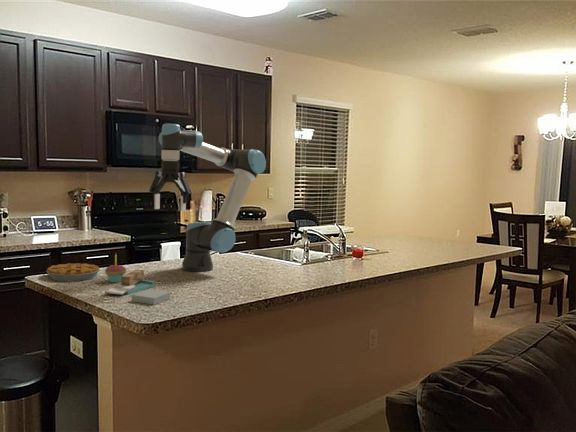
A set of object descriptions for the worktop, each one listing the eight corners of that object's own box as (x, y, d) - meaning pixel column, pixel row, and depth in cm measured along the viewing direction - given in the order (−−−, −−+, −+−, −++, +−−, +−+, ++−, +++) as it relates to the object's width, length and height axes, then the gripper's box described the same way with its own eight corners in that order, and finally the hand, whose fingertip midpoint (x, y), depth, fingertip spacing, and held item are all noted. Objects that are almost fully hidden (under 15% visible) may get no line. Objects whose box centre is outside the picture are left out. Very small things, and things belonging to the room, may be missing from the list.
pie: (95, 270, 247) (95, 260, 246) (103, 280, 228) (103, 269, 227) (44, 273, 236) (44, 262, 236) (47, 283, 217) (47, 271, 217)
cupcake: (104, 279, 229) (105, 252, 228) (125, 278, 232) (125, 251, 231) (105, 283, 221) (105, 255, 220) (126, 283, 224) (127, 255, 223)
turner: (132, 278, 223) (131, 269, 222) (147, 279, 222) (147, 270, 221) (104, 293, 202) (104, 283, 202) (121, 294, 201) (121, 284, 200)
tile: (148, 289, 204) (131, 294, 195) (170, 292, 201) (154, 298, 191) (148, 296, 205) (131, 301, 195) (169, 299, 201) (154, 305, 192)
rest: (136, 283, 223) (136, 278, 223) (154, 286, 219) (154, 281, 219) (109, 291, 208) (109, 285, 208) (127, 294, 205) (127, 288, 205)
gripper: (200, 161, 224) (199, 211, 226) (152, 159, 234) (152, 207, 236) (190, 161, 217) (189, 212, 219) (141, 159, 227) (141, 208, 229)
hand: (169, 210), depth 228 cm, fingers open, 13 cm apart
